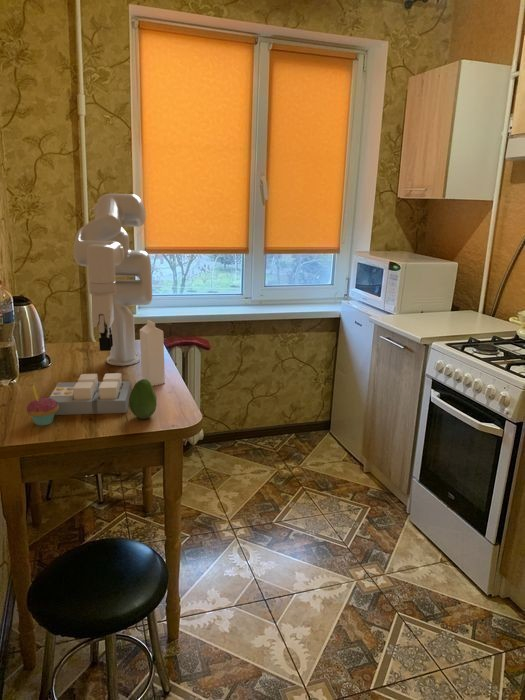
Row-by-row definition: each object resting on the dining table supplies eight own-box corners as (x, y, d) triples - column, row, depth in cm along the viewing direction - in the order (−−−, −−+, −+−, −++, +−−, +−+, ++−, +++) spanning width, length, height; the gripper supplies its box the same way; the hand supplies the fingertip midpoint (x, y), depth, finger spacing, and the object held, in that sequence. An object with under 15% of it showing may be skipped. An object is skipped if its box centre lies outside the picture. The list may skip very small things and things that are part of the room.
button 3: (106, 388, 173) (105, 373, 171) (122, 387, 173) (121, 373, 172) (103, 393, 168) (102, 379, 166) (120, 393, 168) (119, 378, 167)
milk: (149, 387, 181) (146, 324, 175) (141, 381, 186) (138, 320, 179) (165, 383, 185) (163, 322, 178) (157, 378, 189) (155, 318, 183)
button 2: (77, 397, 164) (76, 382, 163) (94, 397, 165) (93, 382, 164) (74, 403, 160) (73, 388, 158) (91, 403, 160) (90, 388, 159)
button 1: (82, 388, 172) (81, 374, 170) (98, 388, 172) (97, 373, 171) (79, 394, 167) (78, 379, 165) (95, 394, 168) (94, 379, 166)
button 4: (102, 396, 165) (101, 381, 164) (119, 396, 166) (118, 381, 165) (100, 403, 161) (99, 387, 159) (117, 402, 161) (116, 387, 160)
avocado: (159, 412, 162) (158, 375, 158) (154, 423, 154) (152, 385, 150) (133, 411, 162) (131, 374, 158) (126, 422, 154) (124, 384, 150)
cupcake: (28, 430, 148) (23, 390, 144) (27, 418, 155) (23, 379, 152) (61, 425, 151) (57, 386, 148) (59, 414, 159) (55, 376, 155)
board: (59, 394, 173) (58, 381, 172) (131, 392, 176) (131, 379, 175) (46, 415, 158) (45, 401, 156) (126, 412, 161) (125, 399, 159)
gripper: (93, 282, 160) (98, 341, 166) (83, 293, 145) (88, 357, 150) (119, 282, 161) (122, 340, 167) (112, 293, 146) (115, 357, 151)
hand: (106, 348), depth 158 cm, fingers open, 2 cm apart
